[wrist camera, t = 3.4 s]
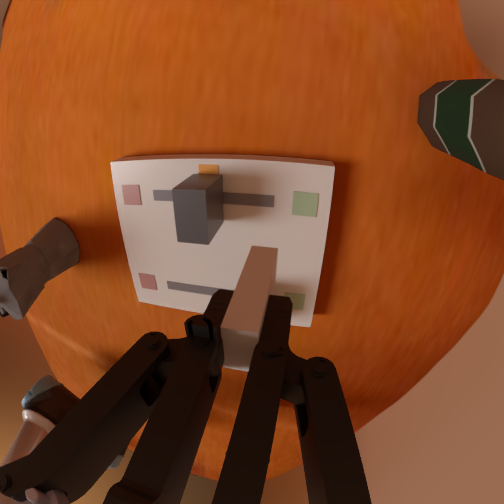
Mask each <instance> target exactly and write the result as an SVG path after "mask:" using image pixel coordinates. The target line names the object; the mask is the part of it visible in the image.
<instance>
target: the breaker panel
mask: <svg viewBox="0 0 504 504" xmlns="http://www.w3.org/2000/svg"><path fill="white" fill-rule="evenodd" d="M110 163H111V171H112V178H113V185H114V192H115V198H116V204H117V210H118V215H119V220H120V226H121V231H122V235H123V240H124V245H125V249H126V254H127V258H128V262H129V266H130V270H131V274H132V278H133V282H134V286H135V289H136V293H137V296H138V300H139V301H140V302H144V303H149V304H154V305H159V306H165V307H170V308H175V309H181V310H187V311H192V312H198V313H204V312H205V310H206V309H207V306H208V304H209V301H210V299H211V297H212V295H213V294H214V293H215V292H216V291H218V290H219V289H225V290H232V291H235V288H236V285H237V283H238V280H239V278H240V275H241V272H242V270H243V267H244V265H245V262H246V259H247V257H248V254H249V252H250V249H251V246H262V247H272V248H278V255H277V269H276V283H275V290H274V295H278V296H286V297H290V299H291V301H292V303H293V307H292V316H291V324H290V325H294V326H304V327H310V326H311V321H312V316H313V311H314V306H315V301H316V296H317V290H318V285H319V279H320V274H321V268H322V262H323V255H324V249H325V243H326V236H327V229H328V222H329V214H330V207H331V198H332V190H333V181H334V171H335V166H334V163H333V161H325V160H315V159H305V158H293V157H279V156H262V155H238V154H172V155H148V156H131V157H122V158H119V159H117V160H114V161H112V162H110ZM192 174H221V175H222V176H223V212H224V222H223V224H222V225H221V227H220V228H219V230H218V231H217V233H216V235H215V236H214V238H213V239H212V241H211V242H210V244H209V245H204V244H194V243H183V242H177V234H176V225H175V216H174V207H173V197H172V189H173V188H174V187H175V186H177V185H178V184H180V183H181V182H182V181H184V180H185V179H187V178H188V177H190V176H191V175H192Z"/></svg>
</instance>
